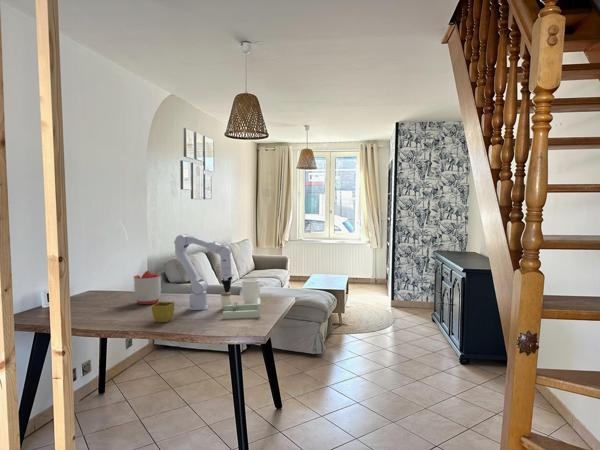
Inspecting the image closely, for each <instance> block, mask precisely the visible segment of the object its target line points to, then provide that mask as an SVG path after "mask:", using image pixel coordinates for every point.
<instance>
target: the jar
mask: <svg viewBox="0 0 600 450" xmlns="http://www.w3.org/2000/svg"><path fill="white" fill-rule="evenodd" d="M260 281H261V279H259V278H244V279H242V280H241V282H242V283H241V294H242V299H243V302H244V303H243V305H246V304H257V301H258V298H260V293H261V287H260V286H261V285H260Z"/></svg>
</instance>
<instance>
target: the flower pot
mask: <svg viewBox="0 0 600 450" xmlns="http://www.w3.org/2000/svg"><path fill="white" fill-rule="evenodd" d="M150 308H151V312H152V313H151V314H152V316H153V318H154V320H155V321H156V323H167V322H169V321H170V320H172V318H173V316H174V312H175V301H158V302H157V303H153V304H151V307H150Z"/></svg>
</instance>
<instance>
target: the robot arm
mask: <svg viewBox="0 0 600 450" xmlns="http://www.w3.org/2000/svg"><path fill="white" fill-rule="evenodd" d="M173 243H174V253H175V255H176V257H177V259H178V260H179V262H180V264H181V265H182V268H183V269H184V271H185V272H186V275H187V276H188V278H189V280H190V286H191V290H192V292H193V293H192V292H191V293H190V294H189V311H201V310H204V311H206V310H208V308H209V305H208V302H207V299H208V298H207V296H208V295H207V289H208V285H209V284H208V283H207V281H206V280H204V279H203V277H202V276H200V275H199V273H198V270H197V269H196V267H195V266H194V264H193V263H192V261H191V259H190V257H189V256H188V254H187V249H188V246H190V245H192V244H194V245H198V246H200V247H204V248H206V249H207V251H209V252H210V253H211V252H212V253H213V254H216V255H219V256H220V270H221V273H220V274H221V278H222V279H221V280H220V282H221V284H222V286H223V289H224V292H230V290H231V285H232V280H233V277H234V276H235V274H233V273H232V260H231V253H232V249H231V247H230V246H228V245H225V244H224V243H223V244H220V243H219V242H218V243H217V241H215V240H213V241H207V240H204V239H202V238H199V237H197V236H194V235H192V234H191V235H190V234H188V233H183V234H180V235H177V236H176V237H175V239H174V241H173Z"/></svg>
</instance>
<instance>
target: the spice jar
mask: <svg viewBox="0 0 600 450" xmlns="http://www.w3.org/2000/svg"><path fill="white" fill-rule="evenodd" d="M220 298H221V299H220V300H221V302H220V303H221V305H220V306H221V310H223V311H225V305H232V292H231V291H229V292H225V291H222V292H220Z"/></svg>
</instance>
